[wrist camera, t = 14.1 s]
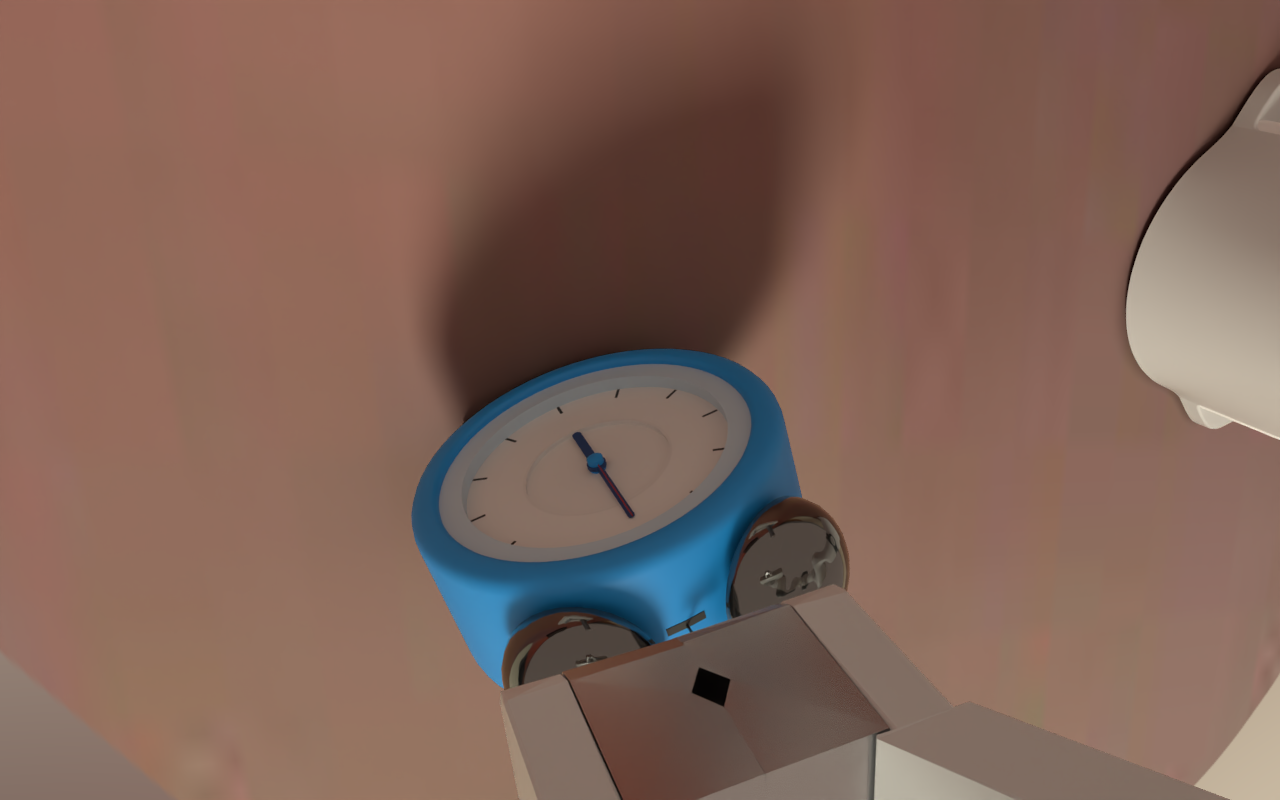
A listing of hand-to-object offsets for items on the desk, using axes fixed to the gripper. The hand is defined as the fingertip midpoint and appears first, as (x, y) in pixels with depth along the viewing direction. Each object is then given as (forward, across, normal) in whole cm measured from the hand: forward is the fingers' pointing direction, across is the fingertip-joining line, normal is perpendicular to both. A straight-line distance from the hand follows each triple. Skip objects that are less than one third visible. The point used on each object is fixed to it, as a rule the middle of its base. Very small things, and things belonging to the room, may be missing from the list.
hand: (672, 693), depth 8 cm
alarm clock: (+29, -6, +14) cm, 33 cm away
